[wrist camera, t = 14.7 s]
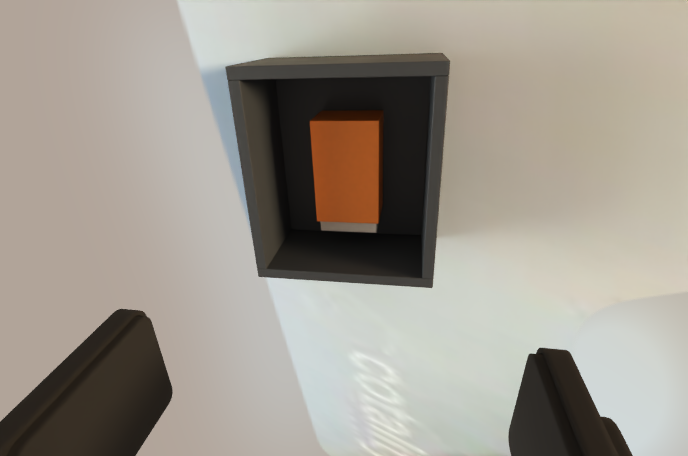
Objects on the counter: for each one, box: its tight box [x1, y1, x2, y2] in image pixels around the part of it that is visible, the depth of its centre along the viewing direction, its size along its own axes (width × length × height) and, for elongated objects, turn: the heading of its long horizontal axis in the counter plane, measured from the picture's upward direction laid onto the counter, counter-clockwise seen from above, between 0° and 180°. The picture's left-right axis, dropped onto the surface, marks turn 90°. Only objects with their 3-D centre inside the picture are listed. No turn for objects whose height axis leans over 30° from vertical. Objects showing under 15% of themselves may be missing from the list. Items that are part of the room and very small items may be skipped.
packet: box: [310, 110, 383, 233], centre depth 32 cm, size 9×5×4 cm, turn 2°
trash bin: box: [226, 53, 450, 288], centre depth 30 cm, size 16×14×8 cm
